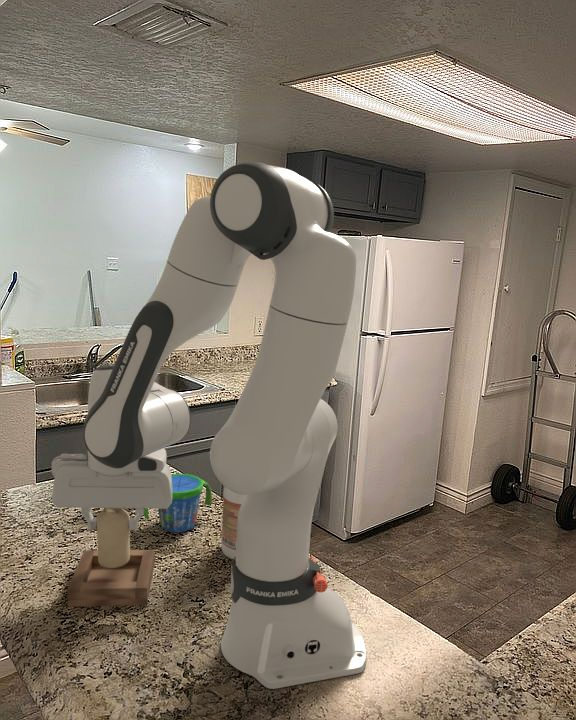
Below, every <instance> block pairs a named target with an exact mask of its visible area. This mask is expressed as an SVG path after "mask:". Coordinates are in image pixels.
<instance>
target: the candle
mask: <svg viewBox="0 0 576 720" xmlns="http://www.w3.org/2000/svg"><path fill="white" fill-rule="evenodd" d="M96 517H97V518H96V520H97V530H96V539H97V540H96V541H97V550H98V562H99V564H100V565H101V566H102V567H105V568H117V567H121V566H123V565H125V564H126V563H128V561H129V560H130V550H131V535H130V534H131V533H130V532H131V531H129V530H128V528H129V519H130V514H129V511H127V510H125V508H102V510H101V512H99V513H98V515H97V516H96Z"/></svg>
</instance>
